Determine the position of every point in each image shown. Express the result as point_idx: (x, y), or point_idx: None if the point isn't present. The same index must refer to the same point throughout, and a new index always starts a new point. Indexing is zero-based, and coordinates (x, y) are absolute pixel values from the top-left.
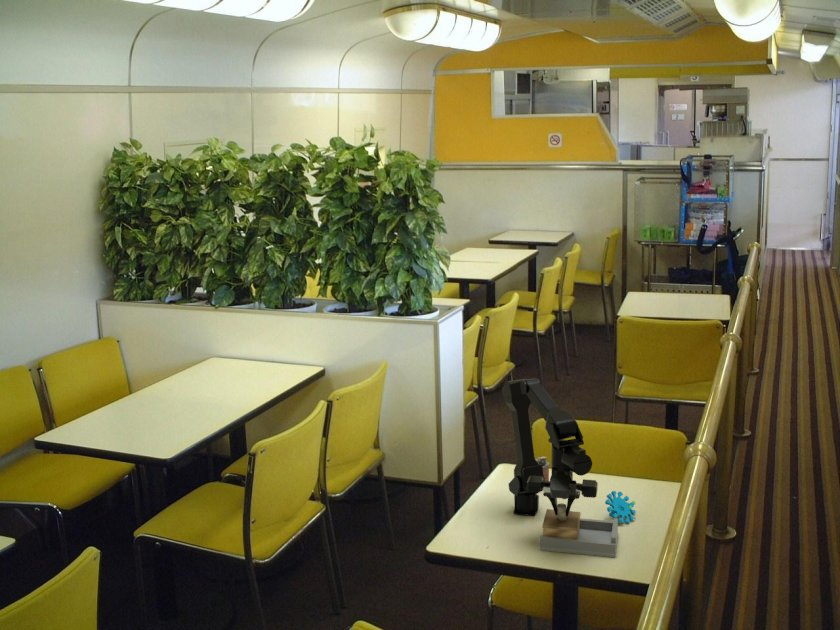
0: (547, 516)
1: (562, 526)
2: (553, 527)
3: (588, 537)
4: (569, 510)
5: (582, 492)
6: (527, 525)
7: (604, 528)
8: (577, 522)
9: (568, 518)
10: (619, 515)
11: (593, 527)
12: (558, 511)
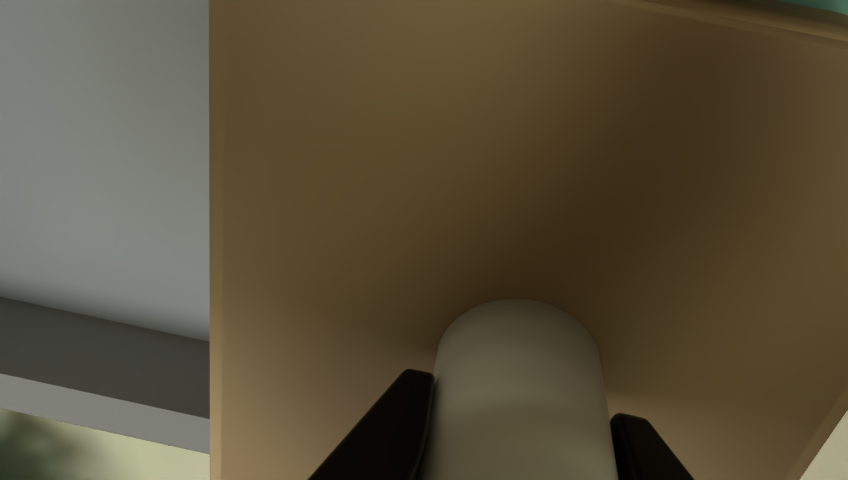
0: (765, 448)
1: (554, 48)
2: (775, 33)
3: (194, 170)
4: (330, 455)
5: None
6: (824, 475)
7: (34, 322)
8: (231, 223)
9: (394, 364)
10: None
11: (148, 347)
12: (607, 470)
